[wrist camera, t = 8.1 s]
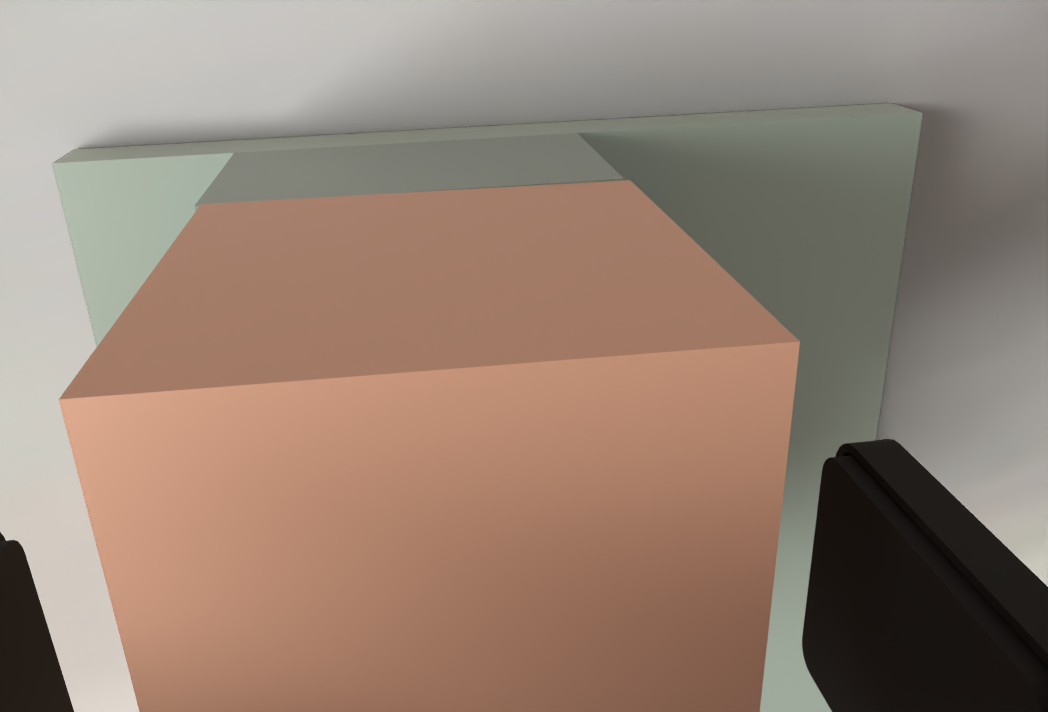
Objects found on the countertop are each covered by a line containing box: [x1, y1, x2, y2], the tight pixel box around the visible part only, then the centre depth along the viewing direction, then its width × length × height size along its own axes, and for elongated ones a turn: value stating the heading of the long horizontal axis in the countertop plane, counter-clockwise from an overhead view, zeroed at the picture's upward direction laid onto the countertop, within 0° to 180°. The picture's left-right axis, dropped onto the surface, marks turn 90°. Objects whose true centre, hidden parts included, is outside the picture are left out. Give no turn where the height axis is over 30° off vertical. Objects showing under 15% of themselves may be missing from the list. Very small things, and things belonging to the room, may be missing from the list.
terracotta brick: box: [59, 180, 800, 712], centre depth 10 cm, size 5×8×5 cm, turn 1°
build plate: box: [52, 103, 923, 712], centre depth 16 cm, size 13×16×4 cm
